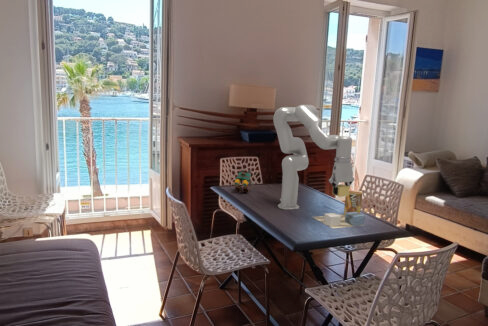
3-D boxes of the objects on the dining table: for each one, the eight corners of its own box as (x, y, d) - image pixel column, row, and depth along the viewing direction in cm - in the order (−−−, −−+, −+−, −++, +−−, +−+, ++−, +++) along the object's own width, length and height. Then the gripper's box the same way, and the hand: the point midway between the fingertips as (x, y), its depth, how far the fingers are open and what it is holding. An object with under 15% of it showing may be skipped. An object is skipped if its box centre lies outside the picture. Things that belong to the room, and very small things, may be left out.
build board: (311, 219, 211) (312, 208, 210) (341, 216, 219) (342, 205, 218) (332, 230, 194) (333, 218, 193) (364, 227, 202) (365, 215, 201)
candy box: (359, 217, 219) (362, 191, 216) (359, 219, 215) (362, 192, 212) (343, 215, 221) (346, 189, 219) (343, 217, 217) (346, 191, 214)
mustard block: (332, 194, 205) (333, 184, 204) (341, 193, 207) (342, 184, 206) (339, 196, 199) (339, 187, 199) (348, 196, 202) (349, 186, 201)
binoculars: (232, 195, 265) (229, 179, 255) (238, 182, 275) (235, 166, 265) (252, 198, 261) (250, 181, 251) (257, 184, 271) (255, 168, 261)
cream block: (323, 222, 202) (324, 213, 201) (332, 221, 204) (333, 212, 203) (330, 226, 196) (331, 217, 196) (339, 225, 199) (340, 216, 198)
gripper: (333, 161, 194) (330, 196, 197) (361, 160, 200) (358, 194, 203) (324, 159, 201) (322, 193, 203) (352, 158, 207) (349, 191, 210)
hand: (340, 193), depth 203 cm, fingers closed on mustard block, 6 cm apart
